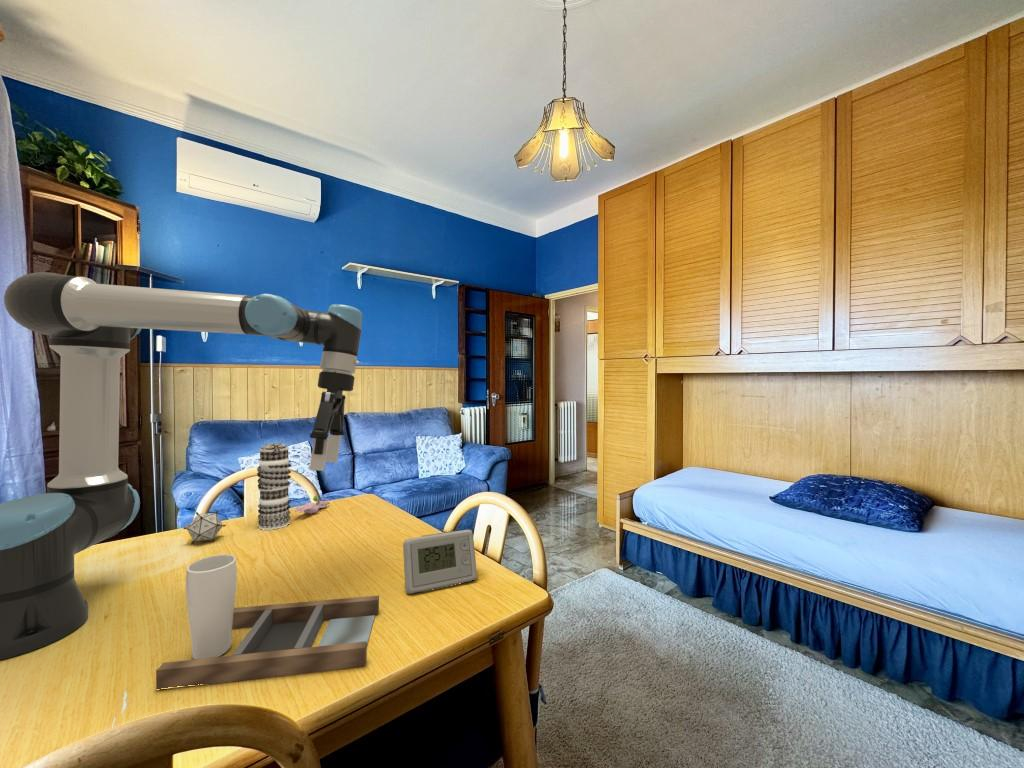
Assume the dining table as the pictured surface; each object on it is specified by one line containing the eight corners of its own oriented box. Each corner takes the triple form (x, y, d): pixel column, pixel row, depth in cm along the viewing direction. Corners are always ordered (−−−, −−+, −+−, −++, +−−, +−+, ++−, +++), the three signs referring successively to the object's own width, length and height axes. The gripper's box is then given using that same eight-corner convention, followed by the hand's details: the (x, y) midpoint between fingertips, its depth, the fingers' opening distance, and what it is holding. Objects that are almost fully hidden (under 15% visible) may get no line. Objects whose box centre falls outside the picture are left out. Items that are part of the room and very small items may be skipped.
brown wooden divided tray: (156, 690, 59) (156, 670, 59) (214, 625, 74) (214, 609, 74) (364, 666, 64) (364, 647, 64) (378, 610, 79) (378, 595, 79)
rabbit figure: (317, 509, 143) (287, 517, 129) (318, 492, 144) (290, 497, 129) (333, 510, 142) (305, 518, 128) (335, 493, 143) (307, 499, 128)
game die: (206, 556, 111) (196, 536, 105) (182, 543, 112) (171, 522, 106) (235, 531, 118) (228, 510, 112) (212, 518, 119) (204, 497, 113)
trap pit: (232, 674, 62) (231, 655, 62) (265, 626, 74) (265, 610, 74) (302, 666, 64) (301, 647, 64) (323, 620, 76) (323, 604, 76)
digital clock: (402, 597, 84) (402, 547, 84) (403, 576, 93) (404, 530, 93) (479, 589, 88) (479, 540, 88) (473, 569, 97) (474, 525, 97)
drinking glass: (217, 667, 64) (217, 572, 64) (174, 666, 64) (174, 572, 64) (246, 639, 71) (246, 553, 70) (207, 638, 71) (207, 553, 70)
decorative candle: (297, 519, 129) (297, 441, 129) (281, 530, 120) (281, 446, 119) (268, 519, 129) (268, 441, 128) (250, 530, 120) (250, 446, 119)
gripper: (345, 369, 82) (330, 475, 80) (362, 379, 106) (351, 460, 104) (304, 364, 80) (288, 472, 78) (331, 375, 104) (320, 458, 102)
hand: (324, 466), depth 91 cm, fingers open, 13 cm apart
